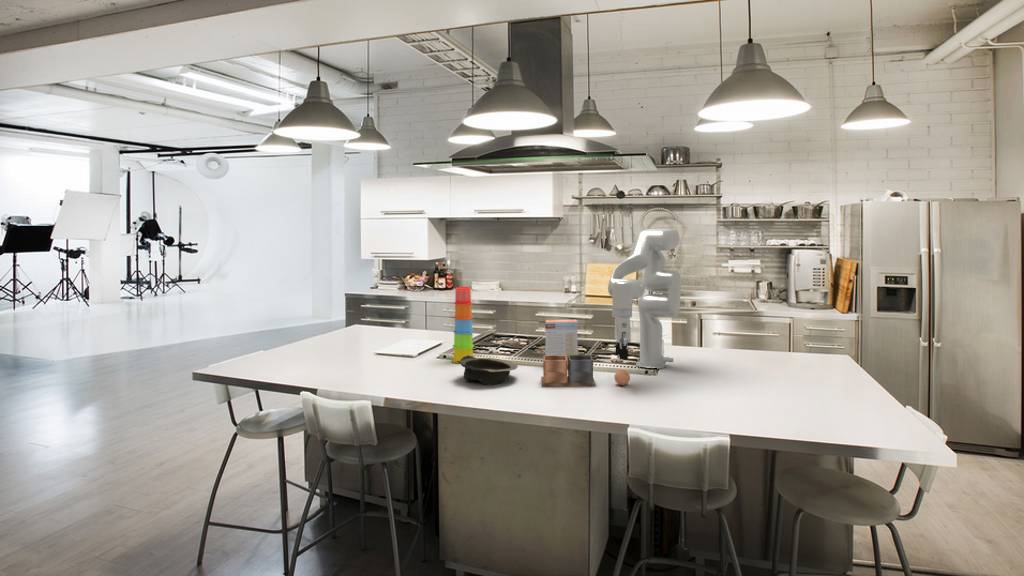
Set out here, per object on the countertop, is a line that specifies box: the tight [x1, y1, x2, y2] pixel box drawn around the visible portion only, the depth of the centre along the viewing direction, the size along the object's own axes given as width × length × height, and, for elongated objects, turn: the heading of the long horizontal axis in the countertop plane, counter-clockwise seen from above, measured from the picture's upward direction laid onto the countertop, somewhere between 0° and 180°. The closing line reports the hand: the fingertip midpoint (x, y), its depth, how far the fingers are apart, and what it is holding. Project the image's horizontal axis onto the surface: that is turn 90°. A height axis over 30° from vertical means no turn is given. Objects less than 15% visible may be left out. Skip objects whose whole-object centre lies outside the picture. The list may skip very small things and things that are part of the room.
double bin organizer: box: [540, 354, 597, 388], centre depth 242 cm, size 21×11×10 cm, turn 88°
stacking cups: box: [452, 286, 475, 364], centre depth 281 cm, size 10×10×35 cm
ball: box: [614, 369, 631, 386], centre depth 238 cm, size 6×6×6 cm
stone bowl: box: [456, 355, 519, 386], centre depth 249 cm, size 25×25×9 cm
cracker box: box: [544, 319, 579, 369], centre depth 267 cm, size 14×6×21 cm, turn 84°
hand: (621, 356), depth 236 cm, fingers open, 9 cm apart
